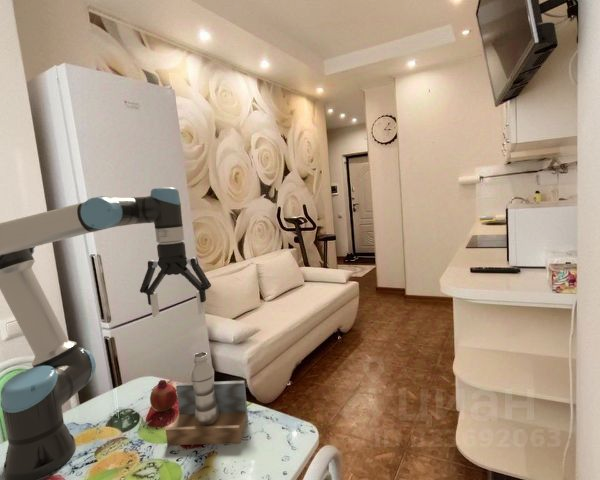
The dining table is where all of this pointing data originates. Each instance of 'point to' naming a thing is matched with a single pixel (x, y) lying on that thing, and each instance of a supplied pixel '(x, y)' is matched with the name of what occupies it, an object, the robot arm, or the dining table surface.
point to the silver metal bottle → (204, 390)
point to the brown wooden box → (226, 425)
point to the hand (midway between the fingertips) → (178, 314)
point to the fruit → (163, 396)
